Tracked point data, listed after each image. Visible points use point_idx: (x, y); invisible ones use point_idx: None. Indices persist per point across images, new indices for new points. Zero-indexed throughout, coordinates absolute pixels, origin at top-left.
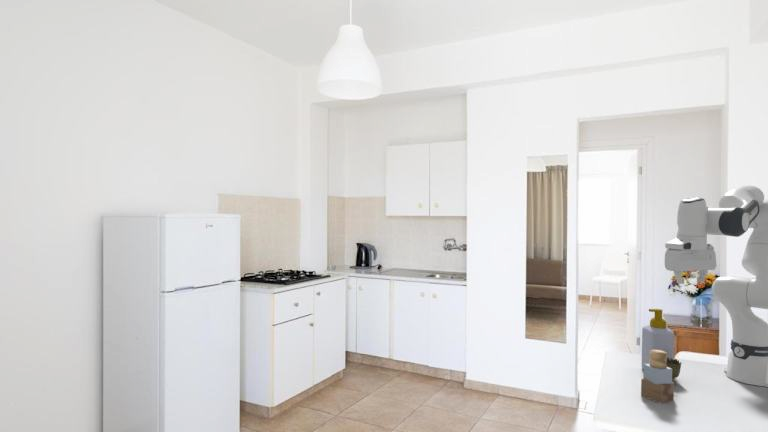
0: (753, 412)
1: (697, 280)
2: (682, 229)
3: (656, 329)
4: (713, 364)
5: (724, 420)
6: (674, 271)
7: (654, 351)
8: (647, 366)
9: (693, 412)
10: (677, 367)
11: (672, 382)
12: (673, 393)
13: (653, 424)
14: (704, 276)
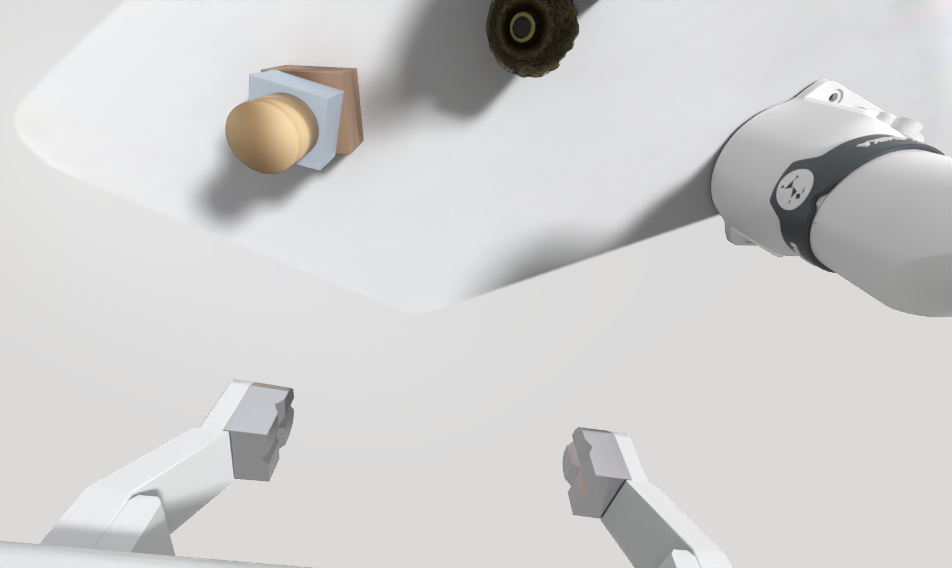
0: (479, 281)
1: (583, 445)
2: None
3: None
4: (908, 3)
5: (362, 272)
6: (57, 532)
7: (248, 126)
8: (249, 97)
9: (333, 216)
10: (515, 72)
11: (345, 152)
12: (358, 144)
13: (159, 207)
14: (620, 541)
